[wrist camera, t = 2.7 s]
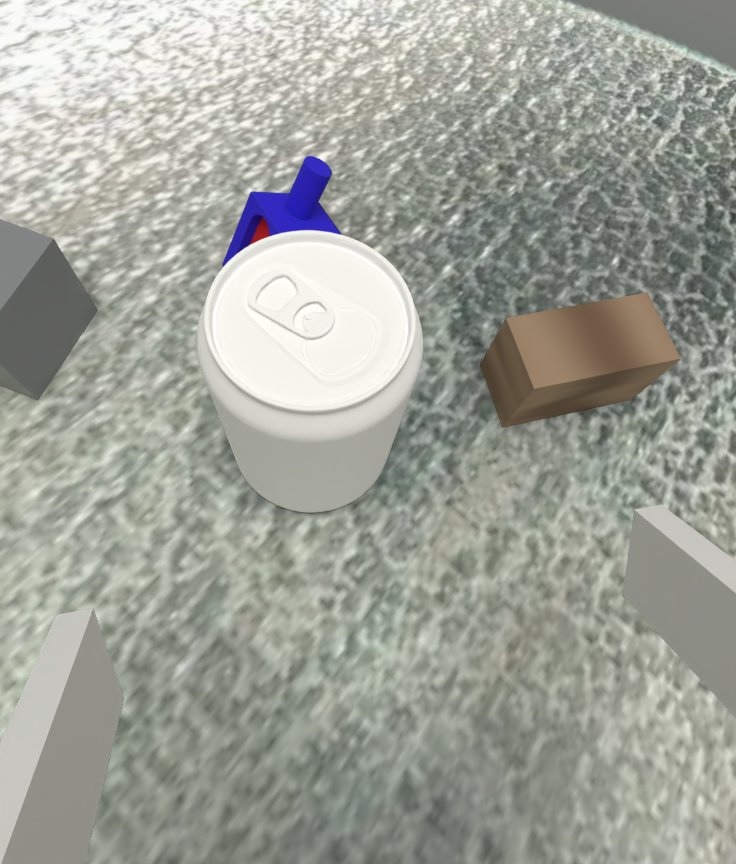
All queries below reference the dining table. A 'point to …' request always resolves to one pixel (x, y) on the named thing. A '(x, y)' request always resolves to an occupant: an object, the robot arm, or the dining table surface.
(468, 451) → the dining table surface
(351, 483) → the beverage can
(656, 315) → the walnut brick
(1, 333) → the grey cube
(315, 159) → the toy building block
